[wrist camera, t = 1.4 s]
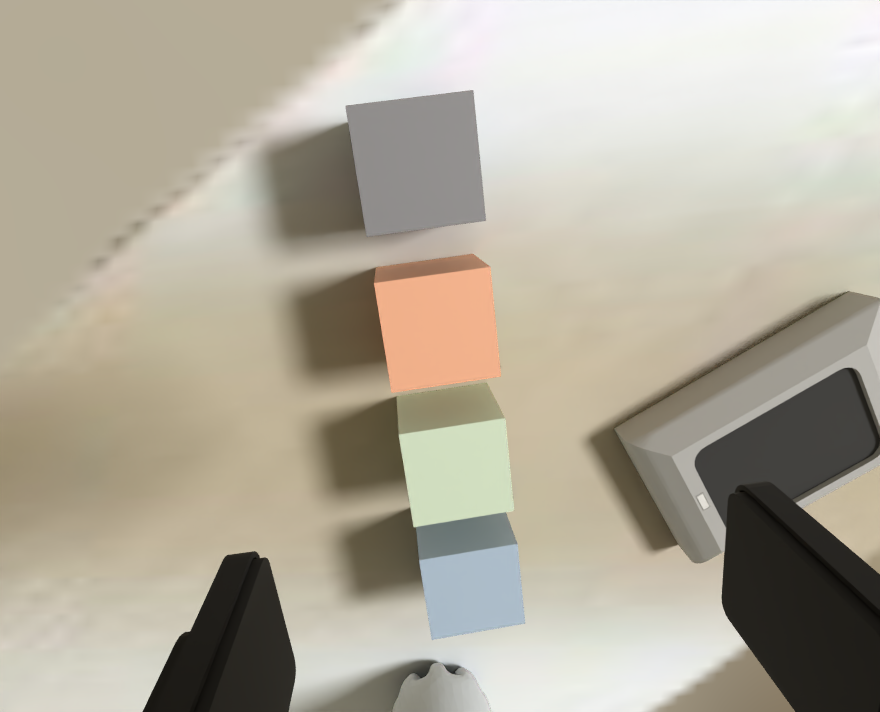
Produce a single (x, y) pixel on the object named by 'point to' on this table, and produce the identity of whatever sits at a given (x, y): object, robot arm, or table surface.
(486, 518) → the slate-blue block
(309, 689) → the table surface
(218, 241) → the table surface
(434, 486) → the sage-green block
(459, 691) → the bottle
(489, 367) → the terracotta block
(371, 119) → the gray block
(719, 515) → the gray dark-screened device
